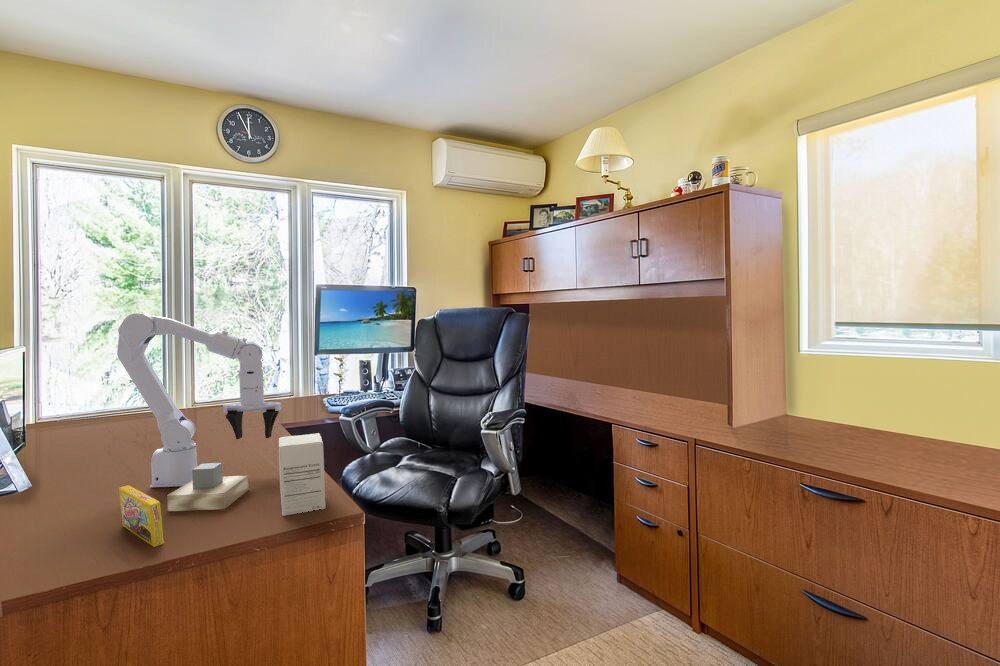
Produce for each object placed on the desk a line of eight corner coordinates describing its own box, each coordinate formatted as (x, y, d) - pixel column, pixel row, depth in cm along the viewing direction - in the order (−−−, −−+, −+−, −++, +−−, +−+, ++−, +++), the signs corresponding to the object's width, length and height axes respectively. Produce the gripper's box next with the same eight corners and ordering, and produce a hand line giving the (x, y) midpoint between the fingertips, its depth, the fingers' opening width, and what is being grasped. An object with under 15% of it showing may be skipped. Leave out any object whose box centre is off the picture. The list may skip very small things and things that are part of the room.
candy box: (120, 527, 104) (118, 487, 104) (132, 523, 106) (130, 484, 106) (151, 548, 94) (149, 504, 94) (164, 544, 96) (162, 500, 96)
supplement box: (280, 502, 116) (278, 436, 115) (322, 495, 120) (320, 432, 119) (281, 516, 108) (278, 446, 107) (326, 509, 111) (323, 441, 111)
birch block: (168, 513, 112) (167, 495, 112) (197, 493, 124) (196, 477, 124) (224, 511, 113) (223, 493, 113) (248, 491, 125) (247, 475, 125)
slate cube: (192, 489, 115) (192, 469, 115) (202, 482, 120) (201, 463, 120) (214, 488, 116) (213, 468, 116) (222, 481, 120) (221, 462, 120)
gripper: (216, 390, 133) (218, 442, 134) (273, 388, 134) (275, 440, 134) (229, 386, 140) (231, 435, 141) (283, 385, 141) (285, 434, 141)
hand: (253, 437), depth 138 cm, fingers open, 7 cm apart
